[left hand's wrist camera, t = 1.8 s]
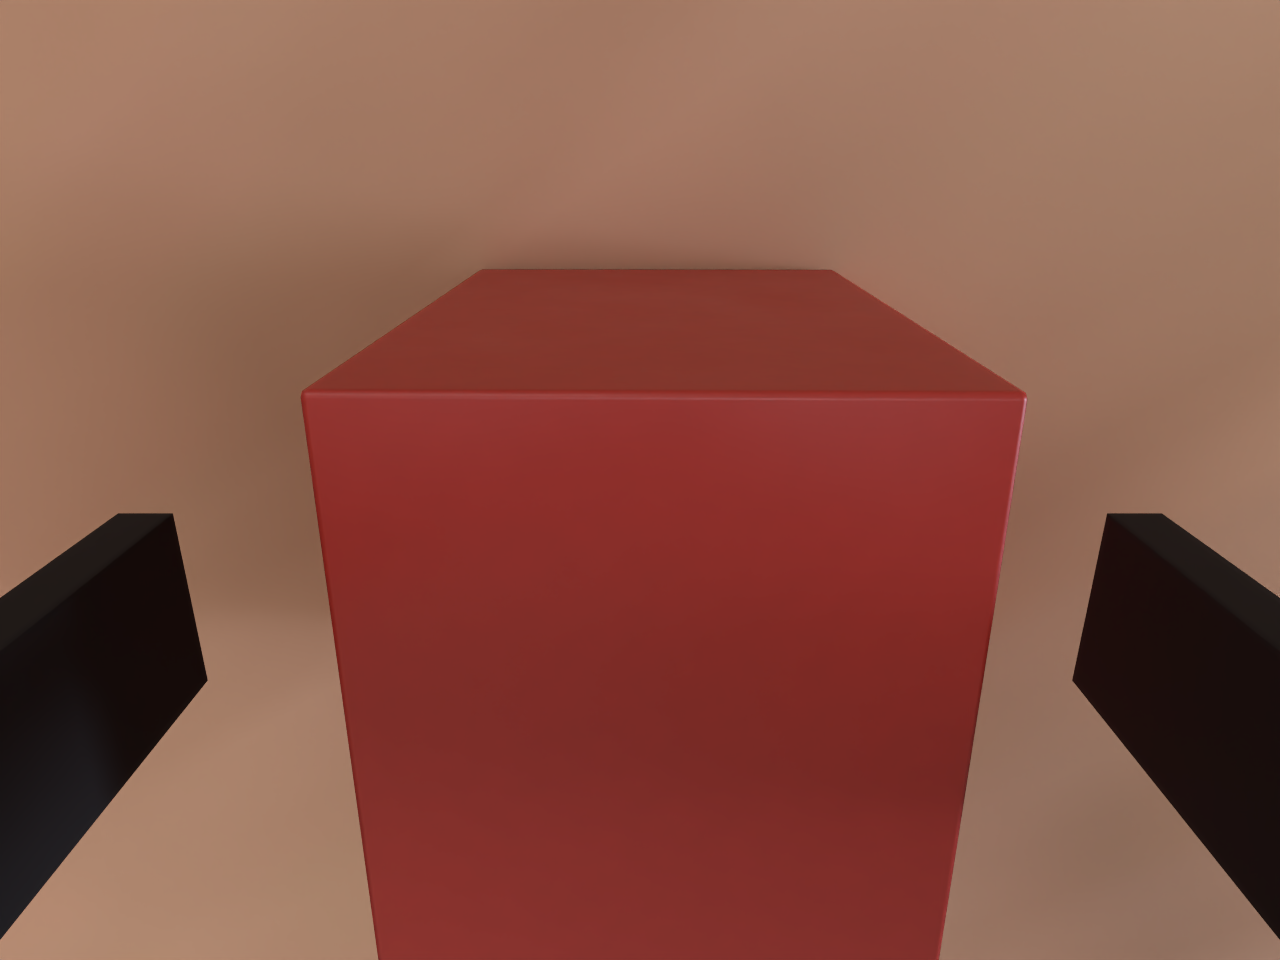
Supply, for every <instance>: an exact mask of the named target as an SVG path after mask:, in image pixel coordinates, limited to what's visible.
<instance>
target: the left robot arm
mask: <svg viewBox="0 0 1280 960" xmlns="http://www.w3.org/2000/svg"><path fill="white" fill-rule="evenodd" d="M207 681H208V680H207V675H206V670H205V665H204V661H203V656H202V651H201V646H200V642H199V637H198V632H197V627H196V622H195V618H194V613H193V608H192V603H191V598H190V594H189V589H188V584H187V579H186V575H185V570H184V565H183V560H182V555H181V551H180V546H179V541H178V536H177V532H176V527H175V522H174V517H173V514H117V515H115V516H114V517H113V518H111V519H110V520H108V521H107V522H106V523H104V524H103V525H101V526H100V527H99V528H97V529H96V530H94V531H93V532H92V533H90V534H89V535H87V536H86V537H85V538H83V539H82V540H80V541H79V542H78V543H76V544H75V545H73V546H72V547H71V548H69V549H68V550H67V551H65V552H64V553H62V554H61V555H60V556H58V557H57V558H55V559H54V560H53V561H51V562H50V563H48V564H47V565H46V566H44V567H43V568H41V569H40V570H39V571H37V572H36V573H34V574H33V575H32V576H30V577H29V578H27V579H26V580H25V581H23V582H22V583H20V584H19V585H18V586H16V587H15V588H13V589H12V590H11V591H9V592H8V593H6V594H5V595H4V596H2V597H1V598H0V939H1V938H2V937H3V936H4V934H5V933H6V932H7V931H8V929H9V928H10V927H11V926H12V924H13V923H14V922H15V921H16V919H17V918H18V917H19V916H20V914H21V913H22V912H23V911H24V909H25V908H26V907H27V906H28V904H29V903H30V902H31V901H32V899H33V898H34V897H35V896H36V894H37V893H38V892H39V891H40V889H41V888H42V887H43V886H44V884H45V883H46V882H47V881H48V879H49V878H50V877H51V876H52V874H53V873H54V872H55V871H56V869H57V868H58V867H59V866H60V864H61V863H62V862H63V861H64V859H65V858H66V857H67V856H68V854H69V853H70V852H71V851H72V849H73V848H74V847H75V846H76V844H77V843H78V842H79V841H80V839H81V838H82V837H83V836H84V834H85V833H86V832H87V831H88V829H89V828H90V827H91V826H92V824H93V823H94V822H95V821H96V819H97V818H98V817H99V816H100V814H101V813H102V812H103V811H104V809H105V808H106V807H107V806H108V804H109V803H110V802H111V801H112V799H113V798H114V797H115V796H116V794H117V793H118V792H119V791H120V789H121V788H122V787H123V786H124V784H125V783H126V782H127V781H128V779H129V778H130V777H131V776H132V774H133V773H134V772H135V771H136V769H137V768H138V767H139V766H140V764H141V763H142V762H143V761H144V759H145V758H146V757H147V756H148V754H149V753H150V752H151V751H152V749H153V748H154V747H155V746H156V744H157V743H158V742H159V741H160V739H161V738H162V737H163V736H164V734H165V733H166V732H167V731H168V729H169V728H170V727H171V726H172V724H173V723H174V722H175V721H176V719H177V718H178V717H179V716H180V714H181V713H182V712H183V711H184V709H185V708H186V707H187V706H188V704H189V703H190V702H191V701H192V699H193V698H194V697H195V696H196V694H197V693H198V692H199V691H200V689H201V688H202V687H203V686H204V684H205V683H206V682H207ZM1072 681H1073V682H1074V683H1075V684H1076V686H1077V687H1078V688H1079V689H1080V691H1081V692H1082V693H1083V694H1084V696H1085V697H1086V698H1087V699H1088V701H1089V702H1090V703H1091V704H1092V706H1093V707H1094V708H1095V709H1096V711H1097V712H1098V713H1099V714H1100V716H1101V717H1102V718H1103V719H1104V721H1105V722H1106V723H1107V724H1108V726H1109V727H1110V728H1111V729H1112V731H1113V732H1114V733H1115V734H1116V736H1117V737H1118V738H1119V739H1120V741H1121V742H1122V743H1123V744H1124V746H1125V747H1126V748H1127V749H1128V751H1129V752H1130V753H1131V754H1132V756H1133V757H1134V758H1135V759H1136V761H1137V762H1138V763H1139V764H1140V766H1141V767H1142V768H1143V769H1144V771H1145V772H1146V773H1147V774H1148V776H1149V777H1150V778H1151V779H1152V781H1153V782H1154V783H1155V784H1156V786H1157V787H1158V788H1159V789H1160V791H1161V792H1162V793H1163V794H1164V796H1165V797H1166V798H1167V799H1168V801H1169V802H1170V803H1171V804H1172V806H1173V807H1174V808H1175V809H1176V811H1177V812H1178V813H1179V814H1180V816H1181V817H1182V818H1183V819H1184V821H1185V822H1186V823H1187V824H1188V826H1189V827H1190V828H1191V829H1192V831H1193V832H1194V833H1195V834H1196V836H1197V837H1198V838H1199V839H1200V841H1201V842H1202V843H1203V844H1204V846H1205V847H1206V848H1207V849H1208V851H1209V852H1210V853H1211V854H1212V856H1213V857H1214V858H1215V859H1216V861H1217V862H1218V863H1219V864H1220V866H1221V867H1222V868H1223V869H1224V871H1225V872H1226V873H1227V874H1228V876H1229V877H1230V878H1231V879H1232V881H1233V882H1234V883H1235V884H1236V886H1237V887H1238V888H1239V889H1240V891H1241V892H1242V893H1243V894H1244V896H1245V897H1246V898H1247V899H1248V901H1249V902H1250V903H1251V904H1252V906H1253V907H1254V908H1255V909H1256V911H1257V912H1258V913H1259V914H1260V916H1261V917H1262V918H1263V919H1264V921H1265V922H1266V923H1267V924H1268V926H1269V927H1270V928H1271V929H1272V931H1273V932H1274V933H1275V934H1276V936H1277V937H1278V938H1279V939H1280V598H1279V597H1278V596H1276V595H1275V594H1274V593H1272V592H1271V591H1269V590H1268V589H1267V588H1265V587H1264V586H1262V585H1261V584H1260V583H1258V582H1257V581H1255V580H1254V579H1253V578H1251V577H1250V576H1248V575H1247V574H1246V573H1244V572H1243V571H1241V570H1240V569H1239V568H1237V567H1236V566H1234V565H1233V564H1232V563H1230V562H1229V561H1227V560H1226V559H1225V558H1223V557H1222V556H1220V555H1219V554H1218V553H1216V552H1215V551H1213V550H1212V549H1211V548H1209V547H1208V546H1207V545H1205V544H1204V543H1202V542H1201V541H1200V540H1198V539H1197V538H1195V537H1194V536H1193V535H1191V534H1190V533H1188V532H1187V531H1186V530H1184V529H1183V528H1181V527H1180V526H1179V525H1177V524H1176V523H1174V522H1173V521H1172V520H1170V519H1169V518H1167V517H1166V516H1165V515H1163V514H1107V517H1106V522H1105V527H1104V532H1103V536H1102V541H1101V546H1100V551H1099V555H1098V560H1097V565H1096V570H1095V575H1094V579H1093V584H1092V589H1091V594H1090V598H1089V603H1088V608H1087V613H1086V618H1085V622H1084V627H1083V632H1082V637H1081V642H1080V646H1079V651H1078V656H1077V661H1076V665H1075V670H1074V675H1073V680H1072Z"/></svg>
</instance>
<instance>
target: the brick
mask: <svg viewBox="0 0 1280 960" xmlns="http://www.w3.org/2000/svg"><path fill="white" fill-rule="evenodd" d="M301 402H302V410H303V417H304V424H305V431H306V439H307V446H308V453H309V460H310V468H311V475H312V482H313V489H314V496H315V504H316V511H317V518H318V525H319V533H320V540H321V547H322V554H323V562H324V569H325V576H326V583H327V591H328V598H329V605H330V612H331V619H332V627H333V634H334V641H335V648H336V656H337V663H338V670H339V677H340V685H341V692H342V699H343V706H344V714H345V721H346V728H347V735H348V743H349V750H350V757H351V764H352V771H353V779H354V786H355V793H356V800H357V808H358V815H359V822H360V829H361V837H362V844H363V851H364V858H365V866H366V873H367V880H368V887H369V894H370V902H371V909H372V916H373V923H374V931H375V938H376V945H377V952H378V960H939V955H940V949H941V942H942V936H943V930H944V923H945V917H946V911H947V904H948V898H949V892H950V886H951V879H952V873H953V867H954V860H955V854H956V848H957V841H958V835H959V829H960V822H961V816H962V810H963V803H964V797H965V791H966V784H967V778H968V772H969V765H970V759H971V753H972V746H973V740H974V734H975V727H976V721H977V715H978V708H979V702H980V696H981V689H982V683H983V677H984V671H985V664H986V658H987V652H988V645H989V639H990V633H991V626H992V620H993V614H994V607H995V601H996V595H997V588H998V582H999V576H1000V569H1001V563H1002V557H1003V550H1004V544H1005V538H1006V531H1007V525H1008V519H1009V512H1010V506H1011V500H1012V493H1013V487H1014V481H1015V474H1016V468H1017V462H1018V456H1019V449H1020V443H1021V437H1022V430H1023V424H1024V418H1025V411H1026V405H1027V396H1026V393H1025V392H1023V391H1022V390H1020V389H1019V388H1017V387H1015V386H1014V385H1012V384H1011V383H1009V382H1008V381H1006V380H1004V379H1003V378H1001V377H1000V376H998V375H997V374H995V373H993V372H992V371H990V370H989V369H987V368H986V367H984V366H982V365H981V364H979V363H978V362H976V361H975V360H973V359H971V358H970V357H968V356H967V355H965V354H964V353H962V352H960V351H959V350H957V349H956V348H954V347H953V346H951V345H949V344H948V343H946V342H945V341H943V340H941V339H940V338H938V337H937V336H935V335H934V334H932V333H930V332H929V331H927V330H926V329H924V328H923V327H921V326H919V325H918V324H916V323H915V322H913V321H912V320H910V319H908V318H907V317H905V316H904V315H902V314H901V313H899V312H897V311H896V310H894V309H893V308H891V307H890V306H888V305H886V304H885V303H883V302H882V301H880V300H879V299H877V298H875V297H874V296H872V295H871V294H869V293H868V292H866V291H864V290H863V289H861V288H860V287H858V286H857V285H855V284H853V283H852V282H850V281H849V280H847V279H845V278H844V277H842V276H841V275H839V274H838V273H836V272H834V271H832V270H480V271H478V272H477V273H475V274H474V275H472V276H471V277H470V278H468V279H467V280H465V281H464V282H462V283H461V284H459V285H458V286H456V287H455V288H453V289H452V290H450V291H449V292H447V293H446V294H444V295H443V296H442V297H440V298H439V299H437V300H436V301H434V302H433V303H431V304H430V305H428V306H427V307H425V308H424V309H422V310H421V311H419V312H418V313H416V314H415V315H414V316H412V317H411V318H409V319H408V320H406V321H405V322H403V323H402V324H400V325H399V326H397V327H396V328H394V329H393V330H391V331H390V332H388V333H387V334H385V335H384V336H383V337H381V338H380V339H378V340H377V341H375V342H374V343H372V344H371V345H369V346H368V347H366V348H365V349H363V350H362V351H360V352H359V353H357V354H356V355H355V356H353V357H352V358H350V359H349V360H347V361H346V362H344V363H343V364H341V365H340V366H338V367H337V368H335V369H334V370H332V371H331V372H329V373H328V374H327V375H325V376H324V377H322V378H321V379H319V380H318V381H316V382H315V383H313V384H312V385H310V386H309V387H307V388H306V389H304V390H303V391H302V394H301Z"/></svg>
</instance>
